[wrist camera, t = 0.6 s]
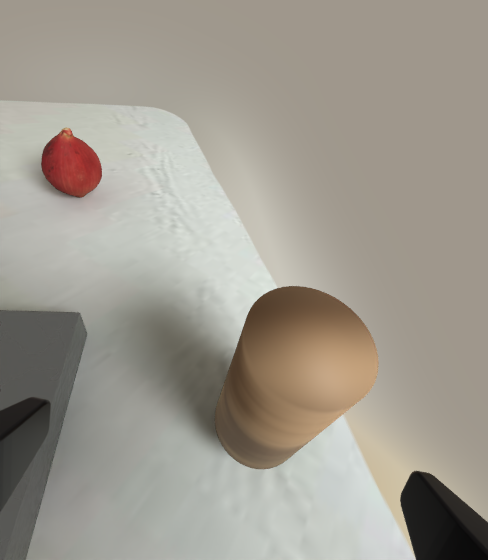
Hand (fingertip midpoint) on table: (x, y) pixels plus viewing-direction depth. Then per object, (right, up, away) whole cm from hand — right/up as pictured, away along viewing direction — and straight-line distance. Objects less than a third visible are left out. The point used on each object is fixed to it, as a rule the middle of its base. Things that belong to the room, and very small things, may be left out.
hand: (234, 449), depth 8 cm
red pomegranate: (-20, +14, +30) cm, 38 cm away
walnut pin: (+1, -7, +15) cm, 17 cm away
